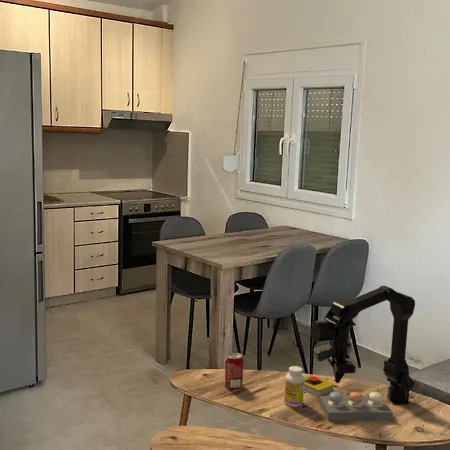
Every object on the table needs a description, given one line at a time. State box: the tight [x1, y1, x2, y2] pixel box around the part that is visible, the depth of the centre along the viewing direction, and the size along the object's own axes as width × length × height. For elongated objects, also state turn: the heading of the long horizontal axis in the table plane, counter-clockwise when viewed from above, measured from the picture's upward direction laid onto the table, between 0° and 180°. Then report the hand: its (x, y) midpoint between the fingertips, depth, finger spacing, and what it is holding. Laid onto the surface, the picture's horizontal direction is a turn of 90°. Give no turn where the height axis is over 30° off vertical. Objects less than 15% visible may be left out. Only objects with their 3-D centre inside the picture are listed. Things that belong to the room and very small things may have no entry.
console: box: [318, 395, 394, 422], centre depth 200 cm, size 22×12×3 cm, turn 95°
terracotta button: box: [348, 391, 364, 403], centre depth 200 cm, size 4×4×2 cm
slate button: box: [329, 391, 344, 403], centre depth 199 cm, size 4×4×2 cm
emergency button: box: [304, 374, 338, 399], centre depth 218 cm, size 9×4×15 cm
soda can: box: [223, 352, 244, 390], centre depth 217 cm, size 7×7×12 cm
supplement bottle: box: [283, 365, 305, 408], centre depth 205 cm, size 7×7×13 cm
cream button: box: [369, 391, 384, 403], centre depth 200 cm, size 4×4×2 cm
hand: (337, 382), depth 198 cm, fingers closed
